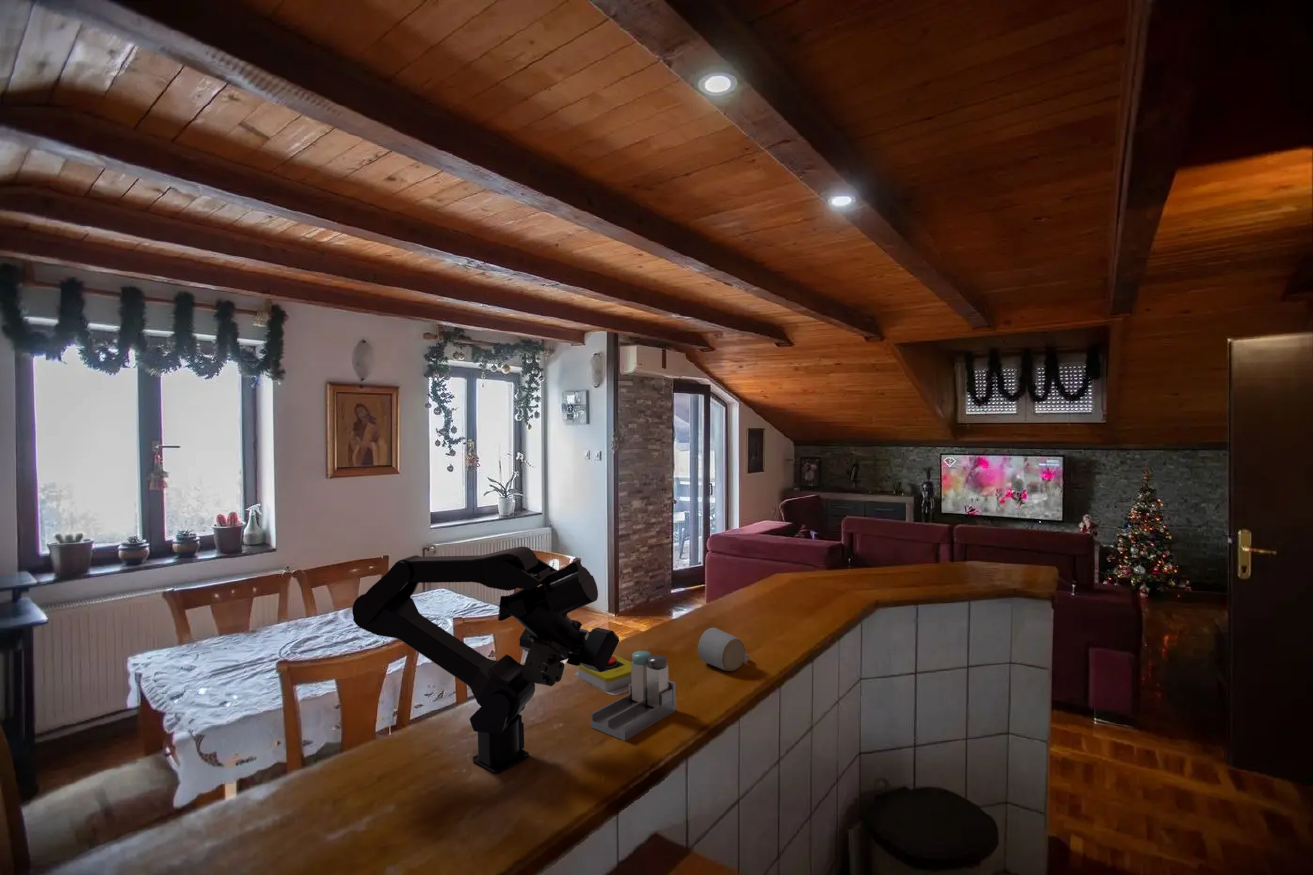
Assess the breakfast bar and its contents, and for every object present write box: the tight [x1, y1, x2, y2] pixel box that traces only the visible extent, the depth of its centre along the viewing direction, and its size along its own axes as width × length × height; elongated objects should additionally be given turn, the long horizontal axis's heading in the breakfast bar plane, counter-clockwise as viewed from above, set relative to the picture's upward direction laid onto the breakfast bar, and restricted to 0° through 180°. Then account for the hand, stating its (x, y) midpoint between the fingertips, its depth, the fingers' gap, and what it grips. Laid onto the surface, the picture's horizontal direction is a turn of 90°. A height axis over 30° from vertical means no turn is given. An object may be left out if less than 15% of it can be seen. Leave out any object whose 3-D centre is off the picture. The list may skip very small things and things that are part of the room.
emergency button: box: [574, 653, 632, 696], centre depth 128 cm, size 9×4×15 cm
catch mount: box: [590, 654, 677, 742], centre depth 110 cm, size 14×8×10 cm, turn 141°
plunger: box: [630, 650, 652, 702], centre depth 115 cm, size 3×3×8 cm
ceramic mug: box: [697, 627, 750, 672], centre depth 134 cm, size 11×8×8 cm
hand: (593, 665), depth 106 cm, fingers closed
